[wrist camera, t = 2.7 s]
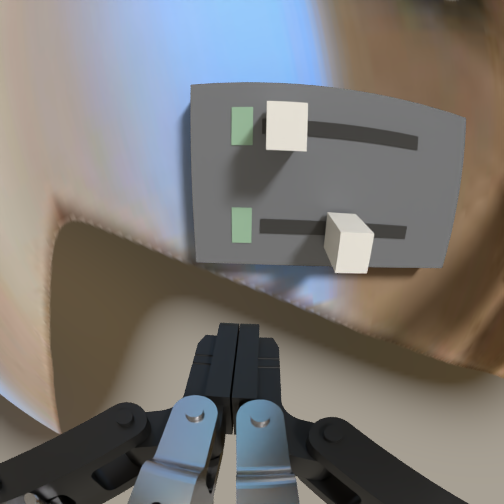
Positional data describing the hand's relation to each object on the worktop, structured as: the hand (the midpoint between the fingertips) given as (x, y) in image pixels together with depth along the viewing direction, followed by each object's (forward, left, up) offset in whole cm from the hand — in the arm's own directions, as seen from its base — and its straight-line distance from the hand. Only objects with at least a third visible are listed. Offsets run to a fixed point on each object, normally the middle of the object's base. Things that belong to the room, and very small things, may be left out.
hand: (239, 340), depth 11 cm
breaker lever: (-2, -8, -13) cm, 16 cm away
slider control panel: (-7, -4, -17) cm, 19 cm away
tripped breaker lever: (-7, 0, -13) cm, 15 cm away
